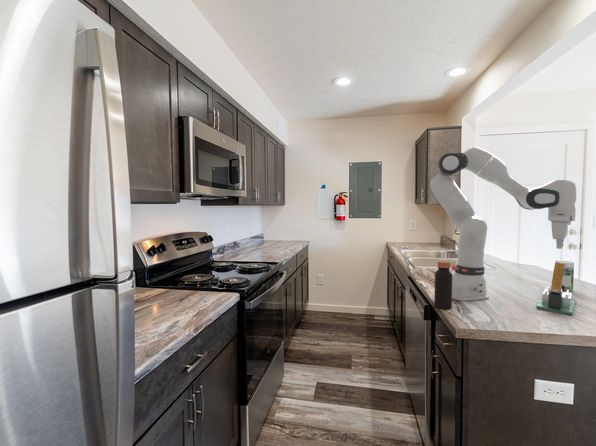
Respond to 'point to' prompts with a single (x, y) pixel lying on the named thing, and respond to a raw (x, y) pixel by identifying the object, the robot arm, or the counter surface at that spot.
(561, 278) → the strap
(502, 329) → the counter surface
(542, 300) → the heatsink mount
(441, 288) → the bottle
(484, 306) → the counter surface
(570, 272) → the syrup box
